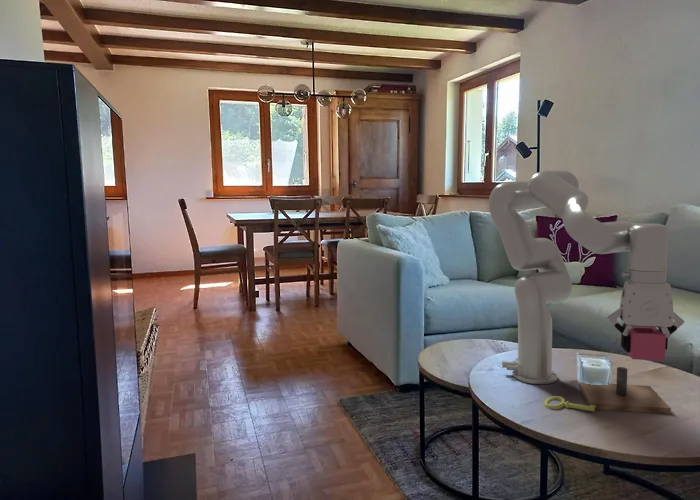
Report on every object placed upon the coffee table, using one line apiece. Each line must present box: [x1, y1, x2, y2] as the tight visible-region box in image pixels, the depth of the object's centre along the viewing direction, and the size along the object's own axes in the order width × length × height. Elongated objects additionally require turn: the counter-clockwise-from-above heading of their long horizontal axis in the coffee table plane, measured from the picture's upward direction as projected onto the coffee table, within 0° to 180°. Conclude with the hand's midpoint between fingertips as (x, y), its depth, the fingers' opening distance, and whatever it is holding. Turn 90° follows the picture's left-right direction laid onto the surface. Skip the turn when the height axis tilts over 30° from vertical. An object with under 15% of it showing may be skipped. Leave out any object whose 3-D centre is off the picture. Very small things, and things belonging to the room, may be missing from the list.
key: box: [543, 395, 596, 412], centre depth 124 cm, size 7×12×2 cm, turn 69°
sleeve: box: [623, 326, 666, 362], centre depth 112 cm, size 7×7×6 cm
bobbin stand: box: [578, 366, 672, 415], centre depth 126 cm, size 18×14×8 cm
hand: (643, 350), depth 112 cm, fingers closed on sleeve, 6 cm apart
